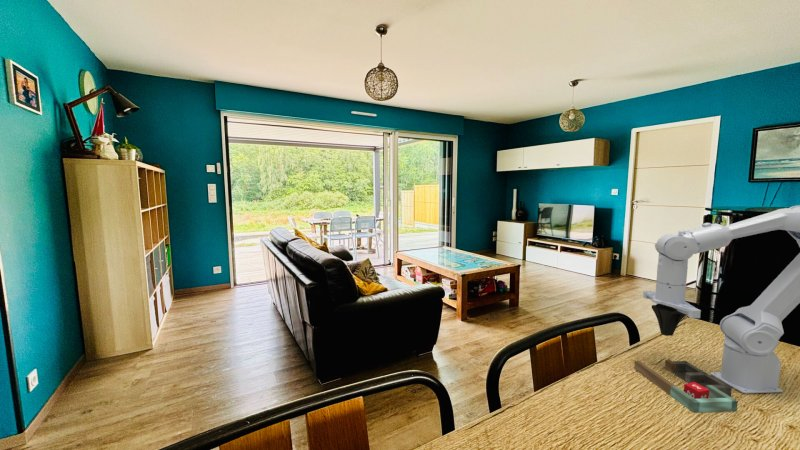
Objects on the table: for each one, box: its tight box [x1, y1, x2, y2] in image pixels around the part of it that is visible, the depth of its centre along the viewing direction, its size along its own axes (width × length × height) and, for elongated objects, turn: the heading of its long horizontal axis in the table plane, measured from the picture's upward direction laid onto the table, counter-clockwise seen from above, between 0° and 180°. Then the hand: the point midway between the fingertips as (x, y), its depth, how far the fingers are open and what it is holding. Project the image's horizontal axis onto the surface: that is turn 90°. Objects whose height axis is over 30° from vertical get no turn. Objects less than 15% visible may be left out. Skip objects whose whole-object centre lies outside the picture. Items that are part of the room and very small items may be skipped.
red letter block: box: [683, 382, 710, 399], centre depth 72 cm, size 3×3×3 cm
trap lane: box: [633, 359, 738, 413], centre depth 77 cm, size 13×17×2 cm
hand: (666, 334), depth 82 cm, fingers closed
